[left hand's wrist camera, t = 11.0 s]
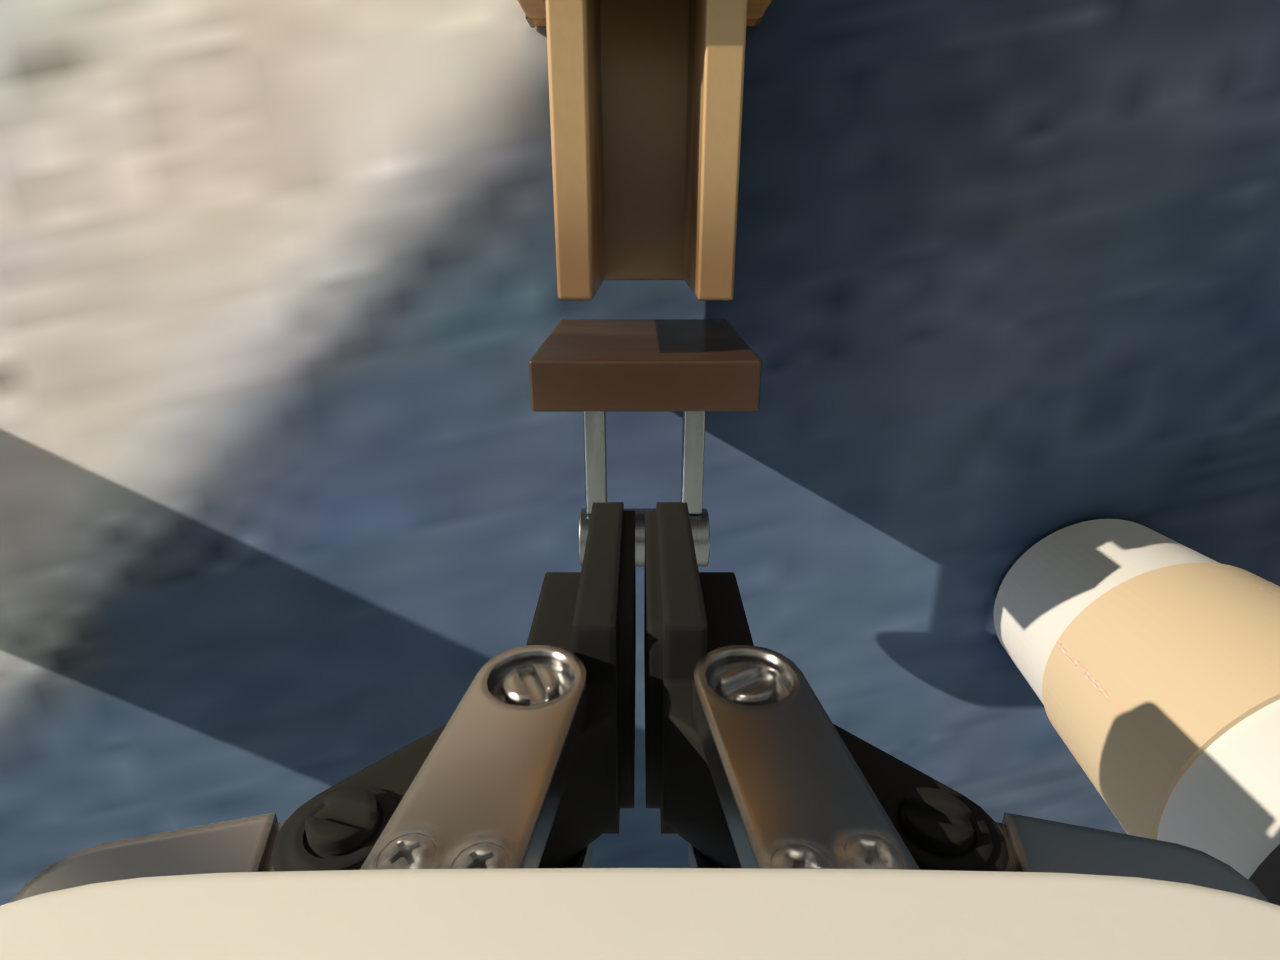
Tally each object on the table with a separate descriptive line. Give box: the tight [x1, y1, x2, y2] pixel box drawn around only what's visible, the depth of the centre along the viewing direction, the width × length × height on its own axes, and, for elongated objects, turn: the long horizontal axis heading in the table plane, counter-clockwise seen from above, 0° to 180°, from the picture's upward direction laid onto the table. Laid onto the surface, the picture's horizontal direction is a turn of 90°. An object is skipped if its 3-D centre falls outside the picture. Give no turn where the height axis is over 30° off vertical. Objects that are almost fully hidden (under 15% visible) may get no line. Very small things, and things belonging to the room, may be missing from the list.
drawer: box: [529, 0, 762, 567], centre depth 17 cm, size 23×5×7 cm, turn 0°
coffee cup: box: [994, 519, 1280, 906], centre depth 19 cm, size 9×9×15 cm
